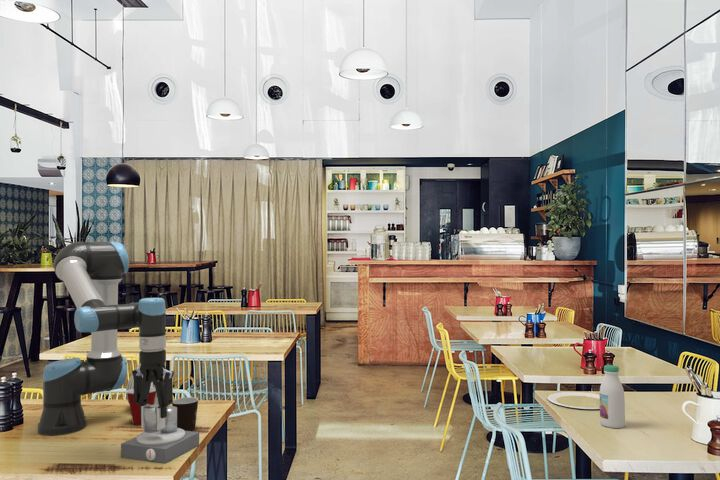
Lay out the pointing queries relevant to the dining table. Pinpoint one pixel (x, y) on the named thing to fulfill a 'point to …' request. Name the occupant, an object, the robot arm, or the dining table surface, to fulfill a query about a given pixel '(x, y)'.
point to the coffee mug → (186, 412)
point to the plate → (553, 397)
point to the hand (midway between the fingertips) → (153, 427)
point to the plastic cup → (135, 407)
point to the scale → (159, 445)
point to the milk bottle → (612, 399)
